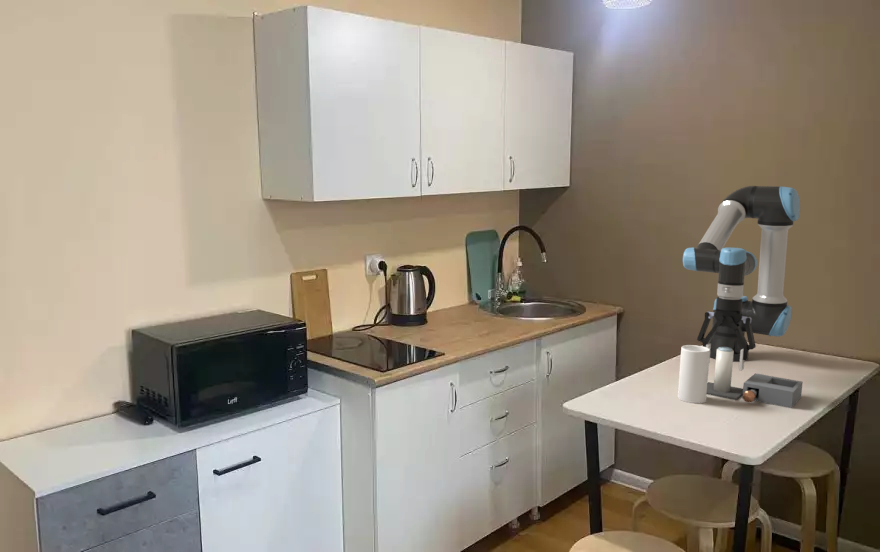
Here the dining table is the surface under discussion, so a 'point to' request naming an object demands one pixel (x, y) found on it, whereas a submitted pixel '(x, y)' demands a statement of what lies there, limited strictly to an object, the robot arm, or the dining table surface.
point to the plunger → (750, 395)
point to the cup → (693, 373)
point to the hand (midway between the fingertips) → (723, 366)
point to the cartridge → (723, 369)
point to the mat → (733, 393)
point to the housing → (774, 390)
